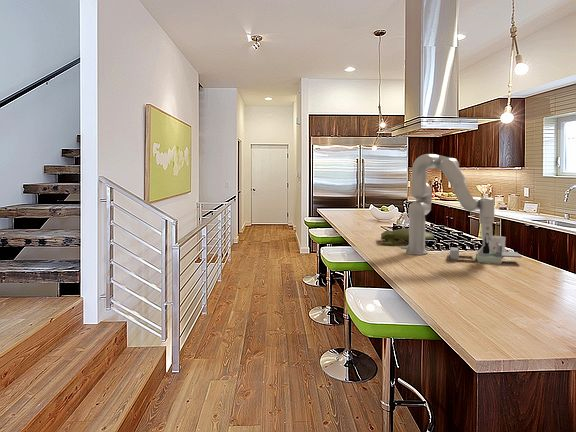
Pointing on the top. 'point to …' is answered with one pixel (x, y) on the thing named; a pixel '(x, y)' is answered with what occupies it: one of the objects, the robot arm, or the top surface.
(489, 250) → the stone
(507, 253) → the bin lid
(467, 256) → the tray
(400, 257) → the top surface
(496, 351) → the top surface
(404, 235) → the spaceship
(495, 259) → the bin
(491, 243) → the mug
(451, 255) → the stone
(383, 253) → the top surface
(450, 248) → the stone
